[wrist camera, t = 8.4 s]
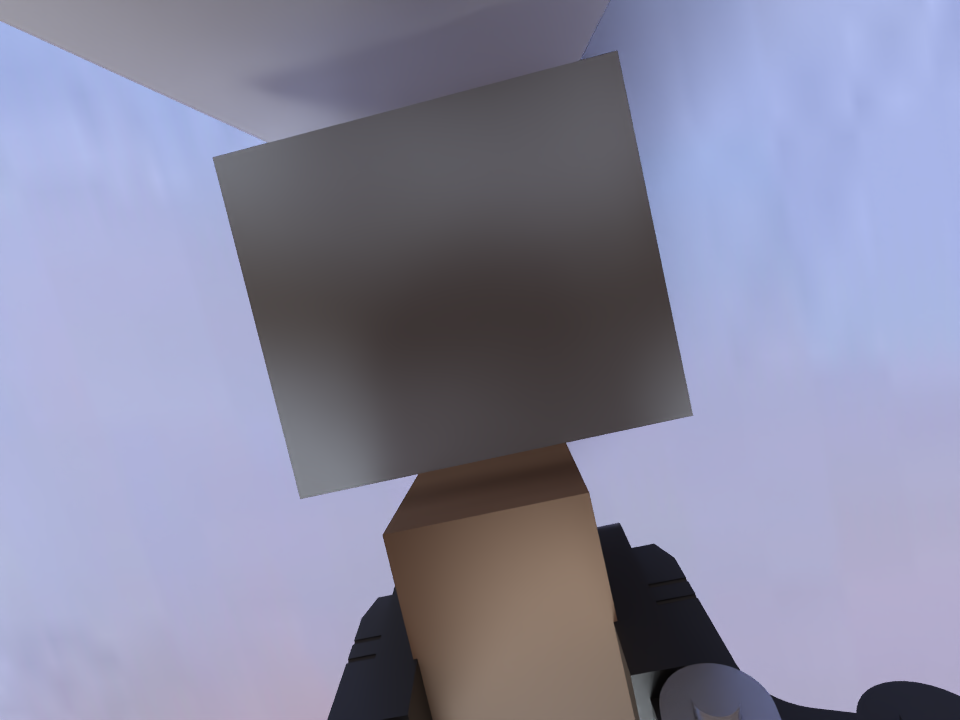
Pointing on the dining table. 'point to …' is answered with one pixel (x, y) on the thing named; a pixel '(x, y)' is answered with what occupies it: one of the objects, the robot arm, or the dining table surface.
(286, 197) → the turner
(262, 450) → the dining table surface
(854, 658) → the dining table surface
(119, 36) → the tile
